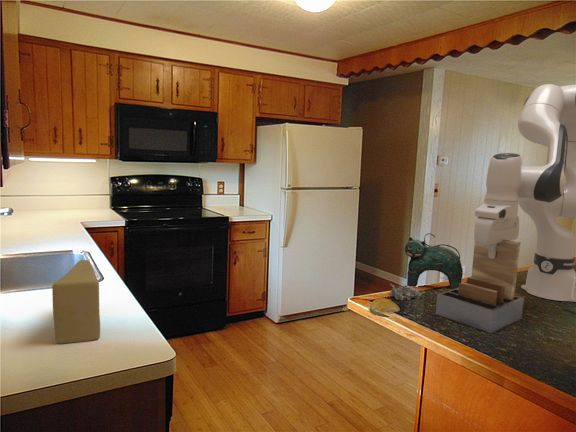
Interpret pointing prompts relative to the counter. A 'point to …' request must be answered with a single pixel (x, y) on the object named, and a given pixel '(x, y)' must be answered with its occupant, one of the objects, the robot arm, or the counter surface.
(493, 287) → the walnut offcut
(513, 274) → the birch sheet
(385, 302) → the bread roll
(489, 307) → the rack
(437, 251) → the ceramic cat
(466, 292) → the oak offcut
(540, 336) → the counter surface
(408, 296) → the egg carton
